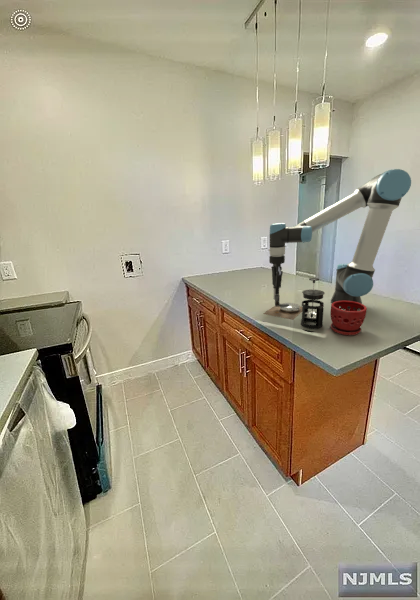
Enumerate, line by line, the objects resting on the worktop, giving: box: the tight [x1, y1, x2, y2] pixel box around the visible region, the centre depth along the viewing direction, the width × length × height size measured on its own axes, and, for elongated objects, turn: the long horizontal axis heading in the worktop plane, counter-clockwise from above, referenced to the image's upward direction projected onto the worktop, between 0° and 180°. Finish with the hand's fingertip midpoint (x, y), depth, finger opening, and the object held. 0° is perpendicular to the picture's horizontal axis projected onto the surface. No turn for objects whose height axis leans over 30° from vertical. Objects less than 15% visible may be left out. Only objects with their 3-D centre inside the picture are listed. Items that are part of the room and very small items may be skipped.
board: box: [263, 302, 302, 321], centre depth 131 cm, size 16×19×2 cm
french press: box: [300, 277, 326, 333], centre depth 109 cm, size 12×9×23 cm
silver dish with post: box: [274, 294, 301, 313], centre depth 131 cm, size 13×10×8 cm
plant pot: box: [330, 301, 368, 336], centre depth 105 cm, size 13×13×12 cm
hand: (276, 299), depth 133 cm, fingers closed
